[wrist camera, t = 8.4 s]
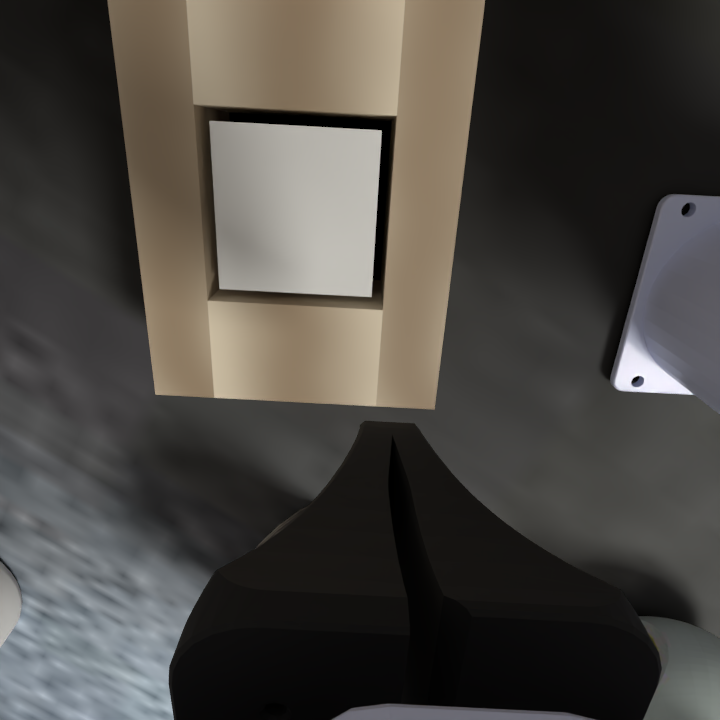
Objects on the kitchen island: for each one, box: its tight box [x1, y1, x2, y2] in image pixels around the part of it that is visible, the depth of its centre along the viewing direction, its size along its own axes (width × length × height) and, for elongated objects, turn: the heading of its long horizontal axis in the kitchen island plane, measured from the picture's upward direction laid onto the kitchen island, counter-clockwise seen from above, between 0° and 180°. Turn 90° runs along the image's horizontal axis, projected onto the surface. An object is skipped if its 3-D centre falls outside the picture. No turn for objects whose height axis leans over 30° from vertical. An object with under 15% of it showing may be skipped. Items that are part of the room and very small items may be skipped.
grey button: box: [209, 121, 382, 297], centre depth 17 cm, size 5×5×3 cm
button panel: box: [108, 0, 485, 409], centre depth 15 cm, size 10×23×4 cm, turn 177°
